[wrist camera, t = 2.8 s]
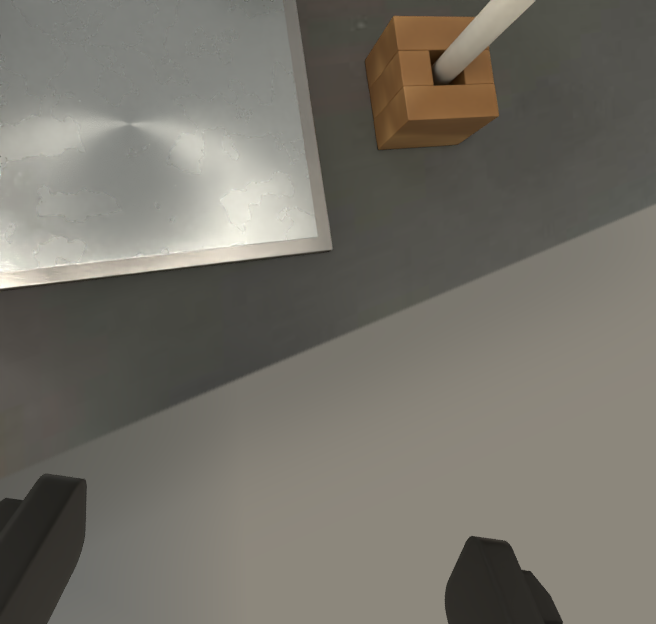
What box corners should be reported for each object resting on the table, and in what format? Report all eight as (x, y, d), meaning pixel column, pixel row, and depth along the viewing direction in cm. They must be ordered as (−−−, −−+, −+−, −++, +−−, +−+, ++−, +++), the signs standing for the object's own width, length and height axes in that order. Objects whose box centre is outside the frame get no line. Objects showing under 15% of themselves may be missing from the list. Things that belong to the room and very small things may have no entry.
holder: (364, 60, 33) (393, 15, 29) (445, 59, 35) (485, 16, 30) (377, 150, 33) (408, 120, 29) (457, 144, 35) (499, 115, 30)
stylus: (400, 93, 34) (552, -81, 20) (420, 92, 34) (584, -79, 20) (403, 115, 34) (558, -42, 20) (423, 114, 34) (589, -41, 20)
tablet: (-110, -16, 26) (-123, -31, 25) (290, -7, 32) (293, -19, 31) (-61, 298, 27) (-72, 297, 26) (329, 252, 32) (333, 249, 31)
